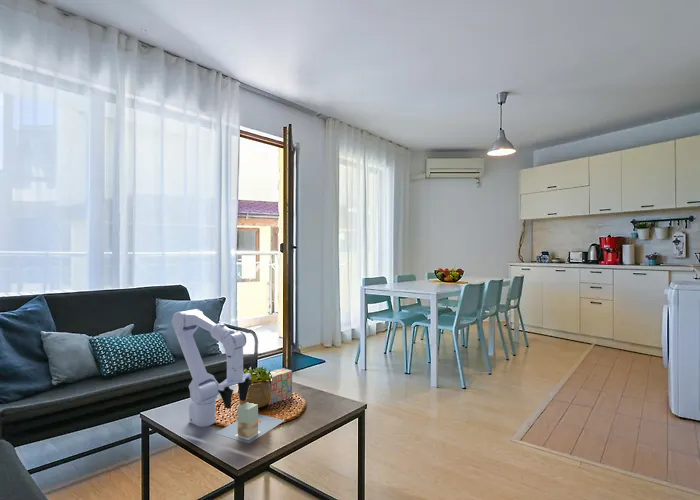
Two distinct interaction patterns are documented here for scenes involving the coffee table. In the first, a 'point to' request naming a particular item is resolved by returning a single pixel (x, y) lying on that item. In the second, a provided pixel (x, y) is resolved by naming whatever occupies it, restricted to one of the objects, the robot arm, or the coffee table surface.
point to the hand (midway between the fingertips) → (235, 404)
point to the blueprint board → (263, 427)
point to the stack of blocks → (281, 385)
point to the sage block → (247, 412)
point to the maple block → (248, 429)
